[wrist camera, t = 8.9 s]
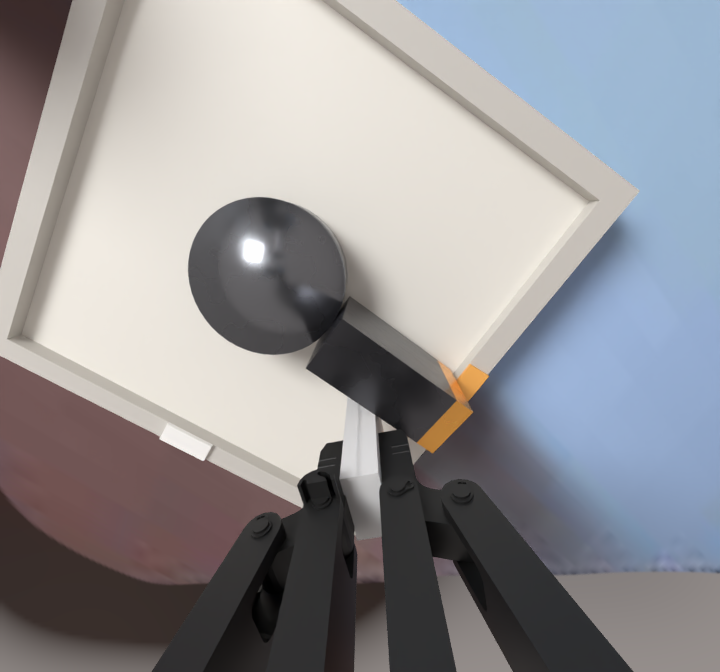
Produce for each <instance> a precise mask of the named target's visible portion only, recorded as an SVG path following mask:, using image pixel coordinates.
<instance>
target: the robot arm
mask: <svg viewBox="0 0 720 672" xmlns="http://www.w3.org/2000/svg"><path fill="white" fill-rule="evenodd" d="M297 487H298V490H299V493H300V496H301V499H302V502H303V508H302V509H301V510H300V511H298V512H296V513H294V514H292V515H290V516H288V517H286V518H283V519H281V518H280V516H279V515H278V514H276V513H273V512H269V513H263V514H261V515H259V516H257V517H255V518H254V519H252V520H251V521H250V522H249V523H248V524H247V525H246V527H245V528H244V529H243V531H242V533H241V534H240V536H239V537H238V539H237V540H236V542H235V543H234V545H233V547H232V548H231V550H230V551H229V553H228V554H227V556H226V557H225V559H224V560H223V562H222V564H221V565H220V567H219V568H218V570H217V571H216V573H215V574H214V576H213V577H212V579H211V581H210V582H209V584H208V585H207V587H206V589H205V590H204V591H203V593H202V595H201V596H200V598H199V599H198V601H197V602H196V604H195V605H194V607H193V608H192V610H191V612H190V613H189V615H188V616H187V618H186V619H185V621H184V623H183V624H182V626H181V627H180V629H179V630H178V632H177V633H176V635H175V637H174V638H173V639H172V641H171V643H170V644H169V646H168V647H167V649H166V650H165V652H164V654H163V655H162V657H161V658H160V660H159V661H158V663H157V664H156V666H155V668H154V669H153V670H152V672H354V650H355V649H354V648H355V615H356V580H357V551H356V547H355V544H354V531H355V534H356V538H357V540H363V539H369V538H377V537H382V548H383V565H384V581H385V596H386V614H387V631H388V647H389V664H390V672H456V667H455V662H454V657H453V653H452V648H451V643H450V638H449V633H448V629H447V624H446V619H445V615H444V610H443V605H442V600H441V595H440V590H439V586H438V581H437V576H436V571H435V567H434V562H433V557H438V558H444V559H449V560H453V563H454V565H455V567H456V569H457V570H458V572H459V574H460V576H461V578H462V579H463V581H464V583H465V585H466V587H467V589H468V590H469V592H470V594H471V596H472V598H473V600H474V601H475V603H476V605H477V607H478V609H479V610H480V612H481V614H482V616H483V618H484V620H485V621H486V623H487V625H488V627H489V629H490V631H491V632H492V634H493V636H494V638H495V640H496V641H497V643H498V645H499V647H500V649H501V650H502V652H503V654H504V656H505V658H506V660H507V662H508V663H509V665H510V667H511V669H512V671H513V672H633V671H632V670H631V668H630V667H629V666H628V665H627V664H626V662H625V661H624V660H623V659H622V657H621V656H620V655H619V654H618V653H617V652H616V650H615V649H614V648H613V647H612V645H611V644H610V643H609V642H608V641H607V639H606V638H605V637H604V636H603V635H602V633H601V632H600V631H599V630H598V629H597V628H596V626H595V625H594V624H593V623H592V621H591V620H590V619H589V618H588V617H587V616H586V614H585V613H584V612H583V610H582V609H581V608H580V607H579V606H578V605H577V603H576V602H575V601H574V600H573V598H572V597H571V596H570V595H569V594H568V592H567V591H566V590H565V589H564V588H563V586H562V585H561V584H560V583H559V582H558V580H557V579H556V578H555V577H554V576H553V574H552V573H551V572H550V571H549V569H548V568H547V567H546V566H545V565H544V563H543V562H542V561H541V560H540V559H539V557H538V556H537V555H536V554H535V553H534V551H533V550H532V549H531V548H530V547H529V545H528V544H527V543H526V542H525V541H524V539H523V538H522V537H521V536H520V535H519V533H518V532H517V531H516V530H515V529H514V527H513V526H512V525H511V524H510V522H509V521H508V520H507V519H506V518H505V516H504V515H503V514H502V513H501V512H500V510H499V509H498V508H497V507H496V506H495V504H494V503H493V502H492V501H491V500H490V498H489V497H488V496H487V495H486V494H485V492H484V491H483V490H482V489H481V488H480V487H479V486H478V485H477V484H476V483H474V482H471V481H469V480H462V479H458V480H453V481H450V482H449V483H447V484H445V486H444V487H443V488H442V489H441V490H435V489H430V488H427V487H425V486H423V485H421V484H420V483H419V482H418V481H417V479H416V476H415V472H414V467H413V462H412V457H411V452H410V447H409V443H408V438H407V435H406V434H405V433H404V432H403V431H402V430H401V429H398V430H392V431H387V432H384V428H383V424H382V420H381V419H380V418H379V417H377V416H376V415H374V414H373V413H371V412H370V411H368V410H367V409H365V408H364V407H362V406H361V405H359V404H358V403H356V402H355V401H353V400H352V399H350V398H349V397H348V398H347V408H346V418H345V428H344V438H343V440H342V441H336V442H331V443H326V445H325V446H324V447H323V449H322V450H321V452H320V457H319V462H318V469H317V470H314V471H311V472H309V473H308V474H306V475H304V476H303V477H302V478H301V479H300V481H299V483H298V485H297Z"/></svg>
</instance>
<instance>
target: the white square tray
mask: <svg viewBox="0 0 720 672" xmlns="http://www.w3.org/2000/svg"><path fill="white" fill-rule="evenodd" d="M638 193H639V190H638V189H637V188H635V187H634V186H633V185H632V184H630V183H629V182H628V181H626V180H625V179H624V178H623V177H621V176H620V175H619V174H618V173H616V172H615V171H614V170H612V169H611V168H610V167H609V166H607V165H606V164H605V163H603V162H602V161H601V160H600V159H598V158H597V157H596V156H594V155H593V154H592V153H591V152H589V151H588V150H587V149H585V148H584V147H583V146H582V145H580V144H579V143H578V142H577V141H575V140H574V139H573V138H571V137H570V136H569V135H568V134H566V133H565V132H564V131H562V130H561V129H560V128H559V127H557V126H556V125H555V124H553V123H552V122H551V121H550V120H548V119H547V118H546V117H544V116H543V115H542V114H541V113H539V112H538V111H537V110H536V109H534V108H533V107H532V106H530V105H529V104H528V103H527V102H525V101H524V100H523V99H521V98H520V97H519V96H518V95H516V94H515V93H514V92H512V91H511V90H510V89H509V88H507V87H506V86H505V85H503V84H502V83H501V82H500V81H498V80H497V79H496V78H495V77H493V76H492V75H491V74H489V73H488V72H487V71H486V70H484V69H483V68H482V67H480V66H479V65H478V64H477V63H475V62H474V61H473V60H471V59H470V58H469V57H468V56H466V55H465V54H464V53H462V52H461V51H460V50H459V49H457V48H456V47H455V46H454V45H452V44H451V43H450V42H448V41H447V40H446V39H445V38H443V37H442V36H441V35H439V34H438V33H437V32H436V31H434V30H433V29H432V28H430V27H429V26H428V25H427V24H425V23H424V22H423V21H421V20H420V19H419V18H418V17H416V16H415V15H414V14H413V13H411V12H410V11H409V10H407V9H406V8H405V7H404V6H402V5H401V4H400V3H398V2H397V1H396V0H73V1H72V4H71V8H70V12H69V15H68V19H67V23H66V27H65V30H64V34H63V38H62V41H61V45H60V49H59V53H58V56H57V60H56V64H55V68H54V71H53V75H52V79H51V82H50V86H49V90H48V94H47V97H46V101H45V105H44V109H43V112H42V116H41V120H40V123H39V127H38V131H37V135H36V138H35V142H34V146H33V149H32V153H31V157H30V161H29V164H28V168H27V172H26V176H25V179H24V183H23V187H22V190H21V194H20V198H19V202H18V205H17V209H16V213H15V217H14V220H13V224H12V228H11V231H10V235H9V239H8V243H7V246H6V250H5V254H4V257H3V261H2V265H1V269H0V356H2V357H4V358H6V359H8V360H10V361H12V362H14V363H16V364H18V365H20V366H22V367H24V368H26V369H28V370H30V371H32V372H34V373H36V374H37V375H39V376H41V377H43V378H45V379H47V380H49V381H51V382H53V383H55V384H57V385H59V386H61V387H63V388H65V389H67V390H69V391H71V392H73V393H75V394H77V395H79V396H81V397H83V398H85V399H87V400H89V401H91V402H93V403H95V404H97V405H99V406H101V407H103V408H105V409H107V410H109V411H111V412H113V413H115V414H117V415H119V416H121V417H123V418H125V419H127V420H129V421H131V422H133V423H135V424H137V425H139V426H141V427H143V428H145V429H147V430H149V431H151V432H153V433H154V434H156V435H158V436H160V440H162V441H164V442H166V443H168V444H170V445H172V446H174V447H176V448H178V449H180V450H182V451H184V452H186V453H188V454H190V455H192V456H194V457H196V458H198V459H200V460H202V461H204V460H205V459H206V460H208V461H210V462H212V463H214V464H216V465H218V466H220V467H222V468H224V469H226V470H228V471H230V472H232V473H234V474H236V475H238V476H240V477H242V478H244V479H246V480H248V481H250V482H252V483H254V484H256V485H258V486H260V487H262V488H264V489H266V490H268V491H270V492H271V493H273V494H275V495H277V496H279V497H281V498H283V499H285V500H287V501H289V502H291V503H293V504H295V505H297V506H299V507H301V508H303V502H302V499H301V496H300V493H299V490H298V487H297V485H298V483H299V481H300V479H301V478H302V477H303V476H304V475H306V474H308V473H309V472H311V471H314V470H317V469H318V462H319V457H320V452H321V450H322V449H323V447H324V446H325V445H326V443H331V442H336V441H342V440H343V438H344V428H345V418H346V408H347V398H348V397H347V396H346V395H344V394H343V393H341V392H340V391H338V390H337V389H335V388H334V387H332V386H331V385H329V384H328V383H327V382H325V381H324V380H322V379H321V378H319V377H318V376H316V375H315V374H313V373H312V372H310V371H309V370H307V369H306V366H307V364H308V362H309V360H310V358H311V355H312V353H313V351H314V349H315V347H316V344H317V342H318V340H319V339H318V340H317V341H315V342H314V343H312V344H311V345H309V346H307V347H305V348H303V349H301V350H298V351H295V352H292V353H287V354H279V355H268V354H260V353H255V352H251V351H248V350H245V349H243V348H240V347H238V346H236V345H234V344H232V343H231V342H229V341H227V340H226V339H225V338H223V337H222V336H221V335H219V334H218V333H217V332H216V331H215V330H214V329H213V328H212V327H211V326H210V325H209V323H208V322H207V321H206V320H205V318H204V317H203V315H202V314H201V312H200V311H199V309H198V307H197V305H196V303H195V301H194V298H193V295H192V292H191V288H190V284H189V277H188V260H189V254H190V249H191V246H192V243H193V240H194V238H195V236H196V234H197V232H198V230H199V229H200V227H201V226H202V224H203V223H204V222H205V221H206V220H207V219H208V218H209V216H211V215H212V214H213V213H214V212H216V211H217V210H218V209H220V208H221V207H223V206H225V205H227V204H229V203H231V202H234V201H236V200H240V199H244V198H252V197H268V198H274V199H279V200H283V201H287V202H290V203H293V204H296V205H299V206H301V207H303V208H306V209H308V210H309V211H311V212H312V213H314V214H315V215H317V216H318V217H319V218H320V219H321V220H323V221H324V222H325V223H326V224H327V225H328V227H329V228H330V229H331V230H332V232H333V233H334V234H335V236H336V237H337V239H338V241H339V243H340V245H341V247H342V250H343V253H344V255H345V260H346V264H347V273H348V277H347V288H346V293H345V296H344V300H343V303H342V305H341V307H342V306H343V304H344V303H345V301H346V300H347V299H348V297H349V296H350V297H352V298H353V299H355V300H356V301H357V302H359V303H360V304H361V305H363V306H364V307H366V308H367V309H368V310H370V311H371V312H372V313H374V314H375V315H376V316H378V317H379V318H381V319H382V320H383V321H385V322H386V323H387V324H389V325H390V326H392V327H393V328H394V329H396V330H397V331H398V332H400V333H401V334H403V335H404V336H405V337H407V338H408V339H409V340H411V341H412V342H413V343H415V344H416V345H418V346H419V347H420V348H422V349H423V350H424V351H426V352H427V353H429V354H430V355H431V356H433V357H434V358H435V359H437V360H438V361H440V362H441V363H442V364H444V365H445V366H446V367H448V368H449V369H450V370H451V372H452V374H453V376H454V377H455V379H456V381H457V383H458V385H459V387H460V388H461V390H462V392H463V394H464V396H465V398H466V400H467V401H469V400H470V399H471V397H472V396H473V395H474V394H475V393H476V391H477V390H478V389H479V388H480V387H481V385H482V384H483V383H484V382H485V381H486V379H487V378H488V377H489V376H488V374H489V373H490V371H491V370H492V369H493V368H494V367H495V365H496V364H497V363H498V362H499V361H500V359H501V358H502V357H503V356H504V355H505V353H506V352H507V351H508V350H509V349H510V347H511V346H512V345H513V344H514V342H515V341H516V340H517V339H518V338H519V336H520V335H521V334H522V333H523V332H524V330H525V329H526V328H527V327H528V326H529V324H530V323H531V322H532V321H533V320H534V318H535V317H536V316H537V315H538V313H539V312H540V311H541V310H542V309H543V307H544V306H545V305H546V304H547V303H548V301H549V300H550V299H551V298H552V297H553V295H554V294H555V293H556V292H557V291H558V289H559V288H560V287H561V286H562V284H563V283H564V282H565V281H566V280H567V278H568V277H569V276H570V275H571V274H572V272H573V271H574V270H575V269H576V268H577V266H578V265H579V264H580V263H581V262H582V260H583V259H584V258H585V257H586V255H587V254H588V253H589V252H590V251H591V249H592V248H593V247H594V246H595V245H596V243H597V242H598V241H599V240H600V239H601V237H602V236H603V235H604V234H605V233H606V231H607V230H608V229H609V228H610V227H611V225H612V224H613V223H614V222H615V220H616V219H617V218H618V217H619V216H620V214H621V213H622V212H623V211H624V210H625V208H626V207H627V206H628V205H629V204H630V202H631V201H632V200H633V199H634V198H635V196H636V195H637V194H638ZM381 420H382V419H381ZM382 424H383V428H384V432H387V431H392V430H397V429H395V428H394V427H392V426H391V425H389V424H388V423H386V422H385V421H383V420H382ZM407 438H408V443H409V447H410V452H411V457H412V462H413V465H414V463H415V462H416V461H417V460H418V458H419V457H420V456H421V455H422V454H423V452H424V451H425V450H426V449H425V448H424V447H422V446H421V445H419V444H418V443H416V442H415V441H413V440H412V439H410V438H409V437H407ZM354 534H355V531H354ZM355 535H356V534H355Z"/></svg>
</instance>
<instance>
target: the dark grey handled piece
mask: <svg viewBox="0 0 720 672" xmlns="http://www.w3.org/2000/svg"><path fill="white" fill-rule="evenodd" d="M188 277H189V284H190V288H191V292H192V295H193V298H194V301H195V303H196V305H197V307H198V309H199V311H200V312H201V314H202V315H203V317H204V318H205V320H206V321H207V322H208V323H209V325H210V326H211V327H212V328H213V329H214V330H215V331H216V332H217V333H218V334H219V335H221V336H222V337H223V338H225V339H226V340H227V341H229V342H231V343H232V344H234V345H236V346H238V347H240V348H243V349H245V350H248V351H251V352H255V353H260V354H268V355H279V354H287V353H292V352H295V351H298V350H301V349H303V348H305V347H307V346H309V345H311V344H312V343H314V342H315V341H317V340H318V339H319V340H318V342H317V344H316V347H315V349H314V351H313V353H312V355H311V358H310V360H309V362H308V364H307V366H306V369H307V370H309V371H310V372H312V373H313V374H315V375H316V376H318V377H319V378H321V379H322V380H324V381H325V382H327V383H328V384H329V385H331V386H332V387H334V388H335V389H337V390H338V391H340V392H341V393H343V394H344V395H346V396H347V397H349V398H350V399H352V400H353V401H355V402H356V403H358V404H359V405H361V406H362V407H364V408H365V409H367V410H368V411H370V412H371V413H373V414H374V415H376V416H377V417H379V418H380V419H382V420H383V421H385V422H386V423H388V424H389V425H391V426H392V427H394V428H395V429H397V430H398V429H401V430H402V431H403V432H404V433H405V434H406V435H407V437H409V438H410V439H412V440H413V441H415V442H416V443H418V444H419V445H421V446H422V447H424V448H425V449H427V450H428V451H430V452H431V453H434V452H435V451H436V450H437V449H438V448H439V447H440V446H441V445H442V444H443V443H444V442H445V440H446V439H447V438H448V437H449V436H450V435H451V434H452V433H453V432H454V431H455V430H456V429H457V428H458V427H459V426H460V425H461V424H462V423H463V422H464V421H465V420H466V419H467V418H468V417H469V416H470V415H471V414H472V413H473V411H472V409H471V407H470V405H469V403H468V401H467V400H466V398H465V396H464V394H463V392H462V390H461V388H460V387H459V385H458V383H457V381H456V379H455V377H454V376H453V374H452V372H451V370H450V369H449V368H448V367H446V366H445V365H444V364H442V363H441V362H440V361H438V360H437V359H435V358H434V357H433V356H431V355H430V354H429V353H427V352H426V351H424V350H423V349H422V348H420V347H419V346H418V345H416V344H415V343H413V342H412V341H411V340H409V339H408V338H407V337H405V336H404V335H403V334H401V333H400V332H398V331H397V330H396V329H394V328H393V327H392V326H390V325H389V324H387V323H386V322H385V321H383V320H382V319H381V318H379V317H378V316H376V315H375V314H374V313H372V312H371V311H370V310H368V309H367V308H366V307H364V306H363V305H361V304H360V303H359V302H357V301H356V300H355V299H353V298H352V297H350V296H349V297H348V299H347V300H346V301H345V303H344V304H343V306H342V307H341V305H342V303H343V300H344V296H345V293H346V288H347V277H348V273H347V264H346V260H345V255H344V253H343V250H342V247H341V245H340V243H339V241H338V239H337V237H336V236H335V234H334V233H333V232H332V230H331V229H330V228H329V227H328V225H327V224H326V223H325V222H324V221H323V220H321V219H320V218H319V217H318V216H317V215H315V214H314V213H312V212H311V211H309V210H308V209H306V208H303V207H301V206H299V205H296V204H293V203H290V202H287V201H283V200H279V199H274V198H268V197H252V198H244V199H240V200H236V201H234V202H231V203H229V204H227V205H225V206H223V207H221V208H220V209H218V210H217V211H216V212H214V213H213V214H212V215H211V216H209V218H208V219H207V220H206V221H205V222H204V223H203V224H202V226H201V227H200V229H199V230H198V232H197V234H196V236H195V238H194V240H193V243H192V246H191V249H190V254H189V260H188Z"/></svg>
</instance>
